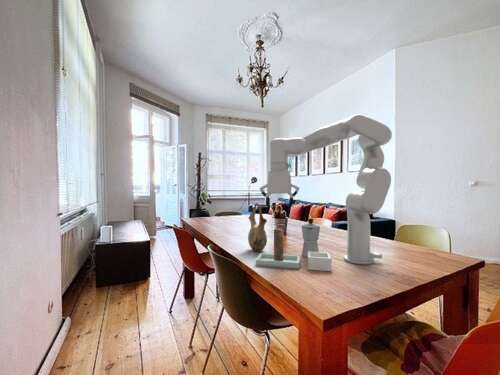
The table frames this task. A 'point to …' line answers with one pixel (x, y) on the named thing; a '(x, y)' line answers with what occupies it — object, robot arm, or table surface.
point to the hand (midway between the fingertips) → (279, 206)
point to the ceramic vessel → (257, 231)
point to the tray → (287, 262)
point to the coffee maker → (310, 238)
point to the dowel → (278, 244)
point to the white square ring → (319, 261)
